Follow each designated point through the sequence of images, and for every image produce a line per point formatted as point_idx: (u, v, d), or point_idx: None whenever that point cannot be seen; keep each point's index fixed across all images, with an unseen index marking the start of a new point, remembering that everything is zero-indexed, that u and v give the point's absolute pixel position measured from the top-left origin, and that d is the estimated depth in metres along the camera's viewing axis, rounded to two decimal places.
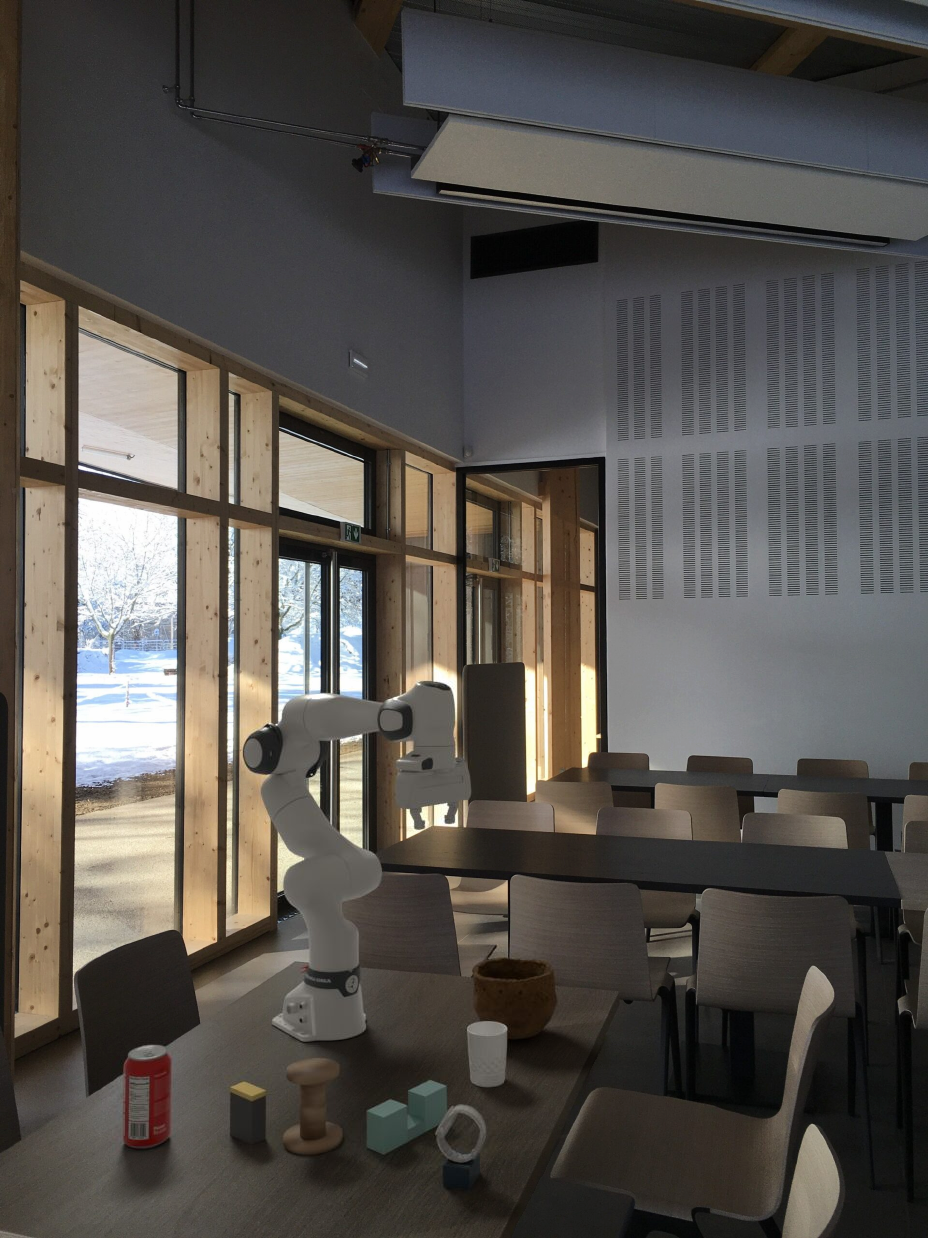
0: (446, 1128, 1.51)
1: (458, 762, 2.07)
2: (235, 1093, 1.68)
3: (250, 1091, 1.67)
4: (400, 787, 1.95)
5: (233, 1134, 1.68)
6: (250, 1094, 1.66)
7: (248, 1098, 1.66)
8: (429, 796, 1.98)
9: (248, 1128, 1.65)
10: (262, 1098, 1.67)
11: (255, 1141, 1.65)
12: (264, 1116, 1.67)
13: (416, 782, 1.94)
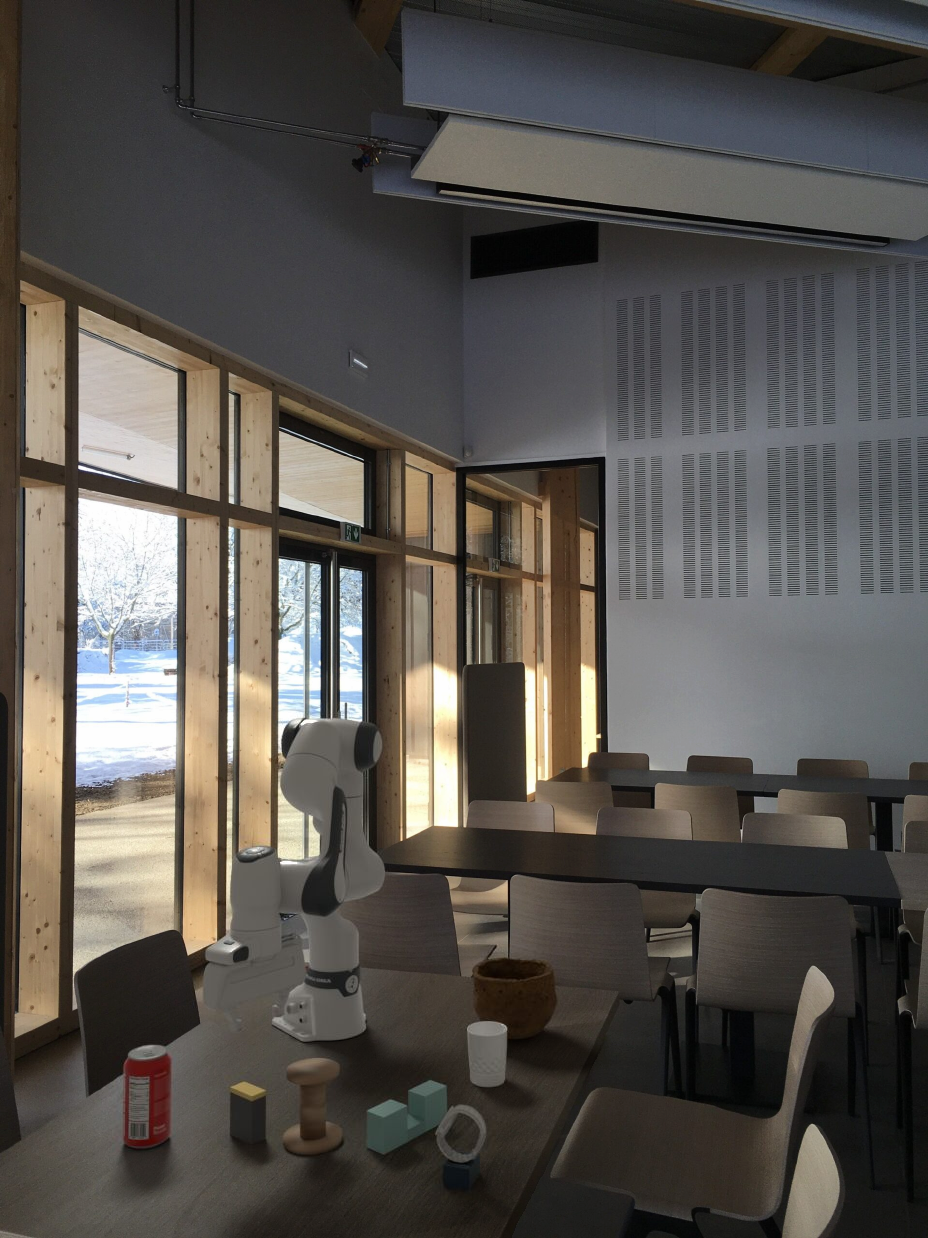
0: (446, 1128, 1.51)
1: (289, 940, 1.76)
2: (235, 1093, 1.68)
3: (250, 1091, 1.67)
4: (208, 984, 1.63)
5: (233, 1134, 1.68)
6: (250, 1094, 1.66)
7: (248, 1098, 1.66)
8: (247, 991, 1.66)
9: (248, 1129, 1.65)
10: (262, 1098, 1.67)
11: (255, 1141, 1.65)
12: (264, 1116, 1.67)
13: (227, 978, 1.63)
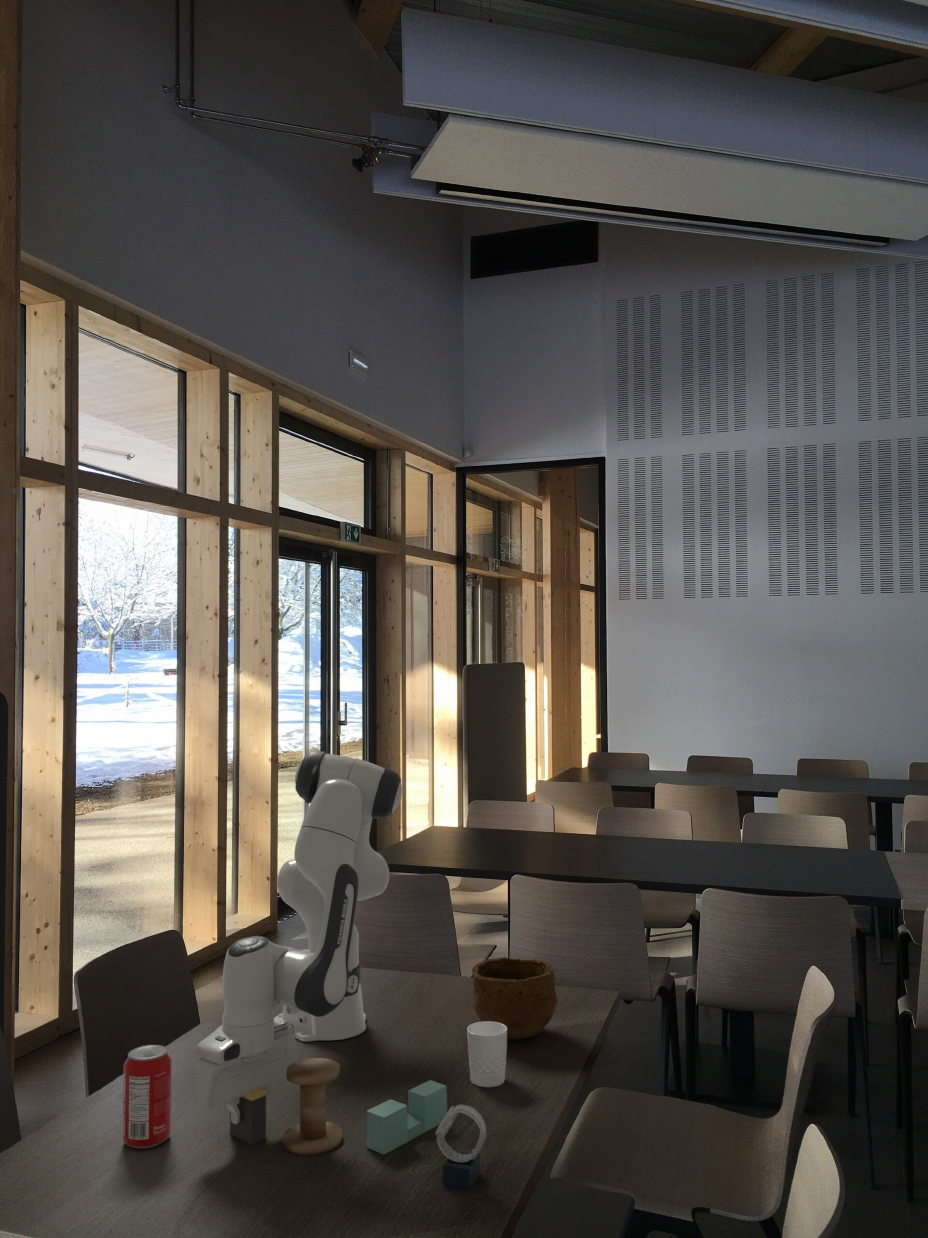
0: (446, 1128, 1.51)
1: (282, 1031, 1.74)
2: None
3: None
4: (198, 1082, 1.61)
5: (233, 1134, 1.68)
6: (250, 1094, 1.66)
7: (248, 1098, 1.66)
8: (237, 1087, 1.64)
9: (248, 1128, 1.65)
10: (262, 1098, 1.67)
11: (255, 1141, 1.65)
12: (264, 1116, 1.67)
13: (217, 1076, 1.61)
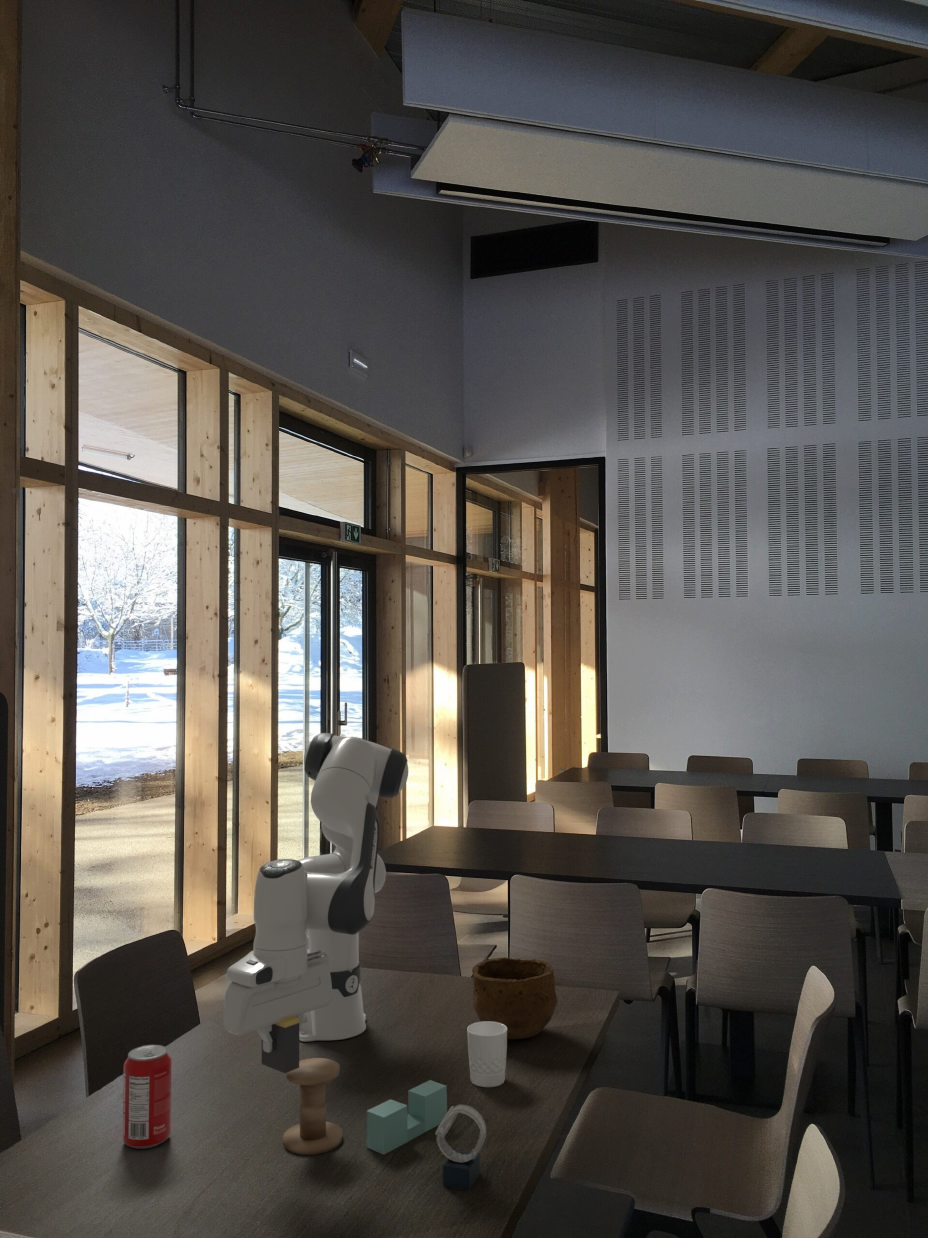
0: (446, 1128, 1.51)
1: (315, 959, 1.66)
2: None
3: None
4: (229, 1006, 1.54)
5: (265, 1063, 1.60)
6: (283, 1021, 1.58)
7: (281, 1025, 1.58)
8: (270, 1013, 1.57)
9: (281, 1057, 1.58)
10: (295, 1025, 1.59)
11: (288, 1069, 1.57)
12: (297, 1044, 1.59)
13: (249, 1000, 1.53)
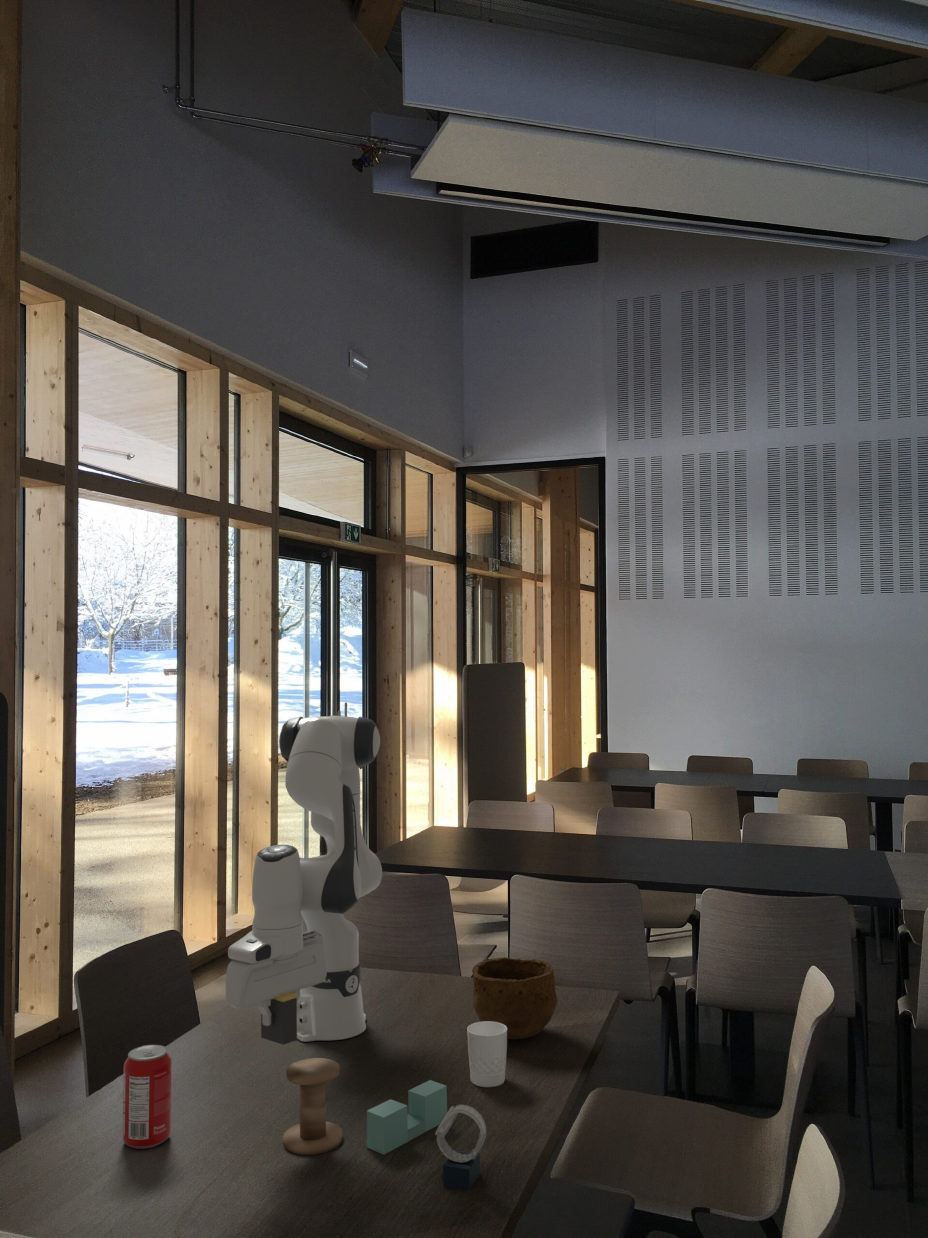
0: (446, 1128, 1.51)
1: (310, 938, 1.77)
2: None
3: None
4: (231, 982, 1.64)
5: (264, 1037, 1.70)
6: (281, 995, 1.69)
7: (279, 999, 1.68)
8: (269, 989, 1.67)
9: (279, 1029, 1.68)
10: (293, 1000, 1.69)
11: (287, 1041, 1.68)
12: (295, 1018, 1.70)
13: (249, 976, 1.64)
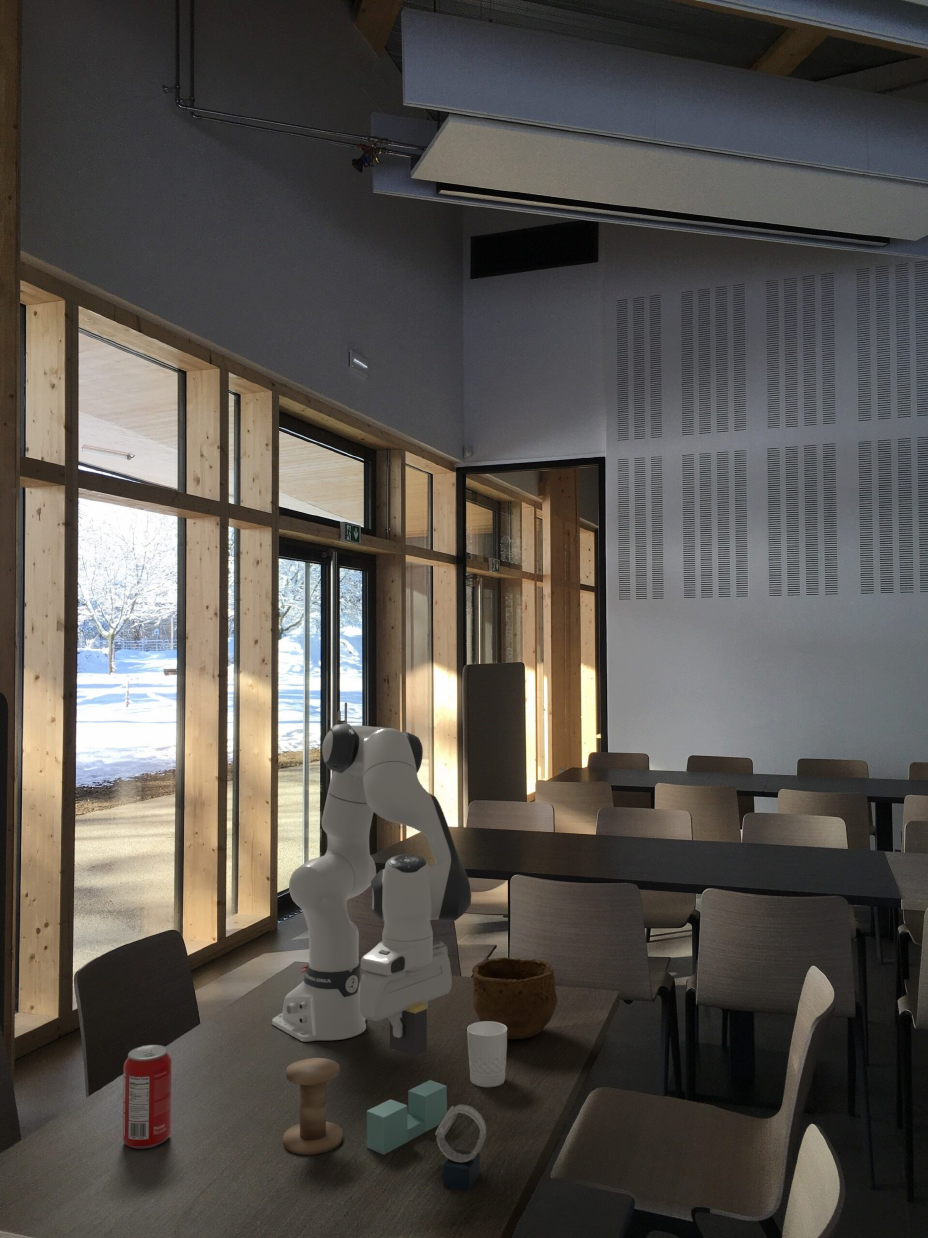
0: (446, 1128, 1.51)
1: (436, 949, 1.75)
2: None
3: None
4: (365, 993, 1.62)
5: (394, 1047, 1.69)
6: (412, 1007, 1.67)
7: (411, 1011, 1.67)
8: (401, 1000, 1.66)
9: (411, 1041, 1.67)
10: (423, 1011, 1.68)
11: (418, 1053, 1.66)
12: (425, 1029, 1.68)
13: (384, 988, 1.62)
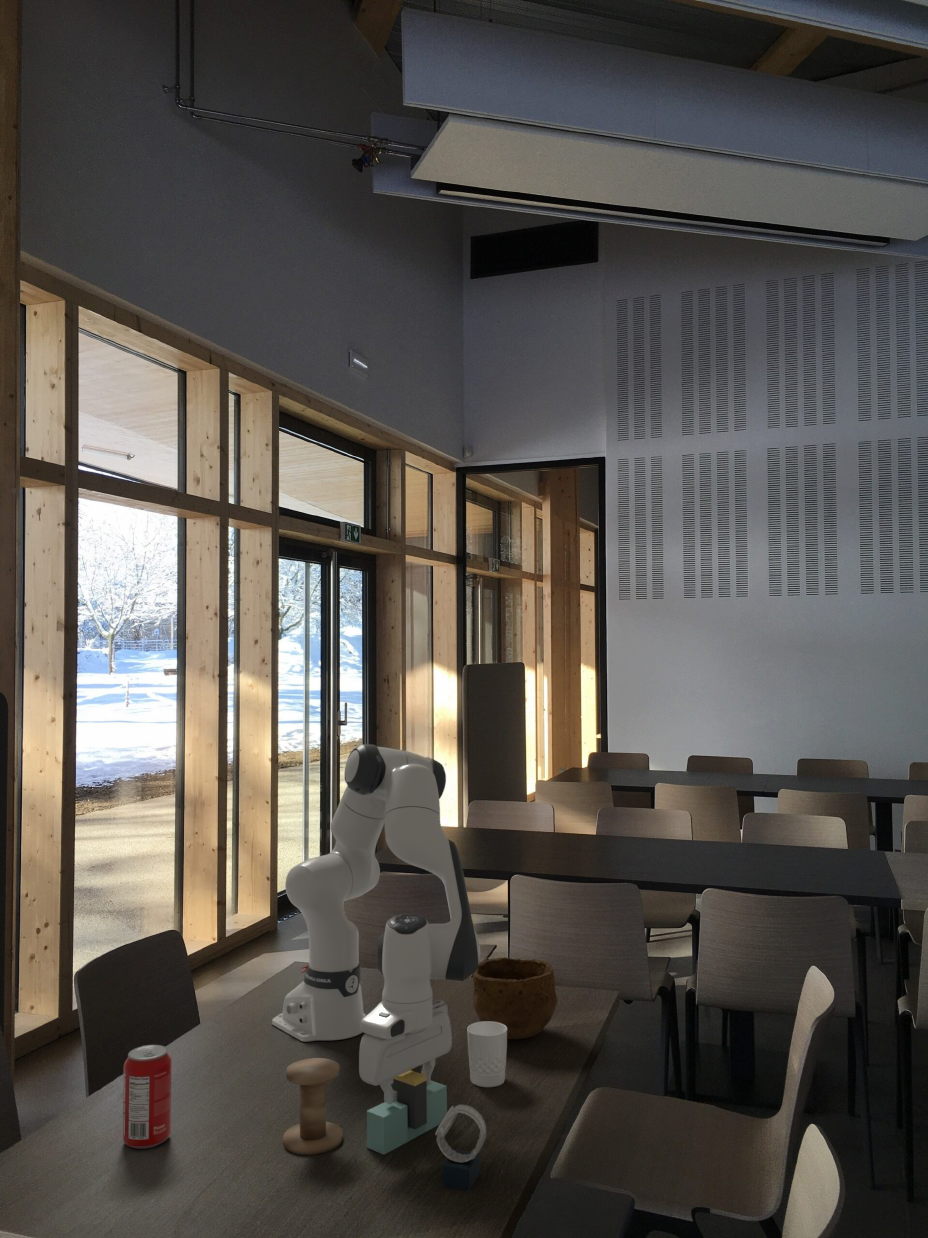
0: (446, 1128, 1.51)
1: (436, 1008, 1.75)
2: (395, 1078, 1.68)
3: (411, 1076, 1.68)
4: (365, 1057, 1.62)
5: None
6: (412, 1079, 1.66)
7: (410, 1083, 1.66)
8: (401, 1063, 1.65)
9: (411, 1113, 1.66)
10: (423, 1083, 1.67)
11: (418, 1126, 1.66)
12: (425, 1101, 1.67)
13: (384, 1052, 1.62)
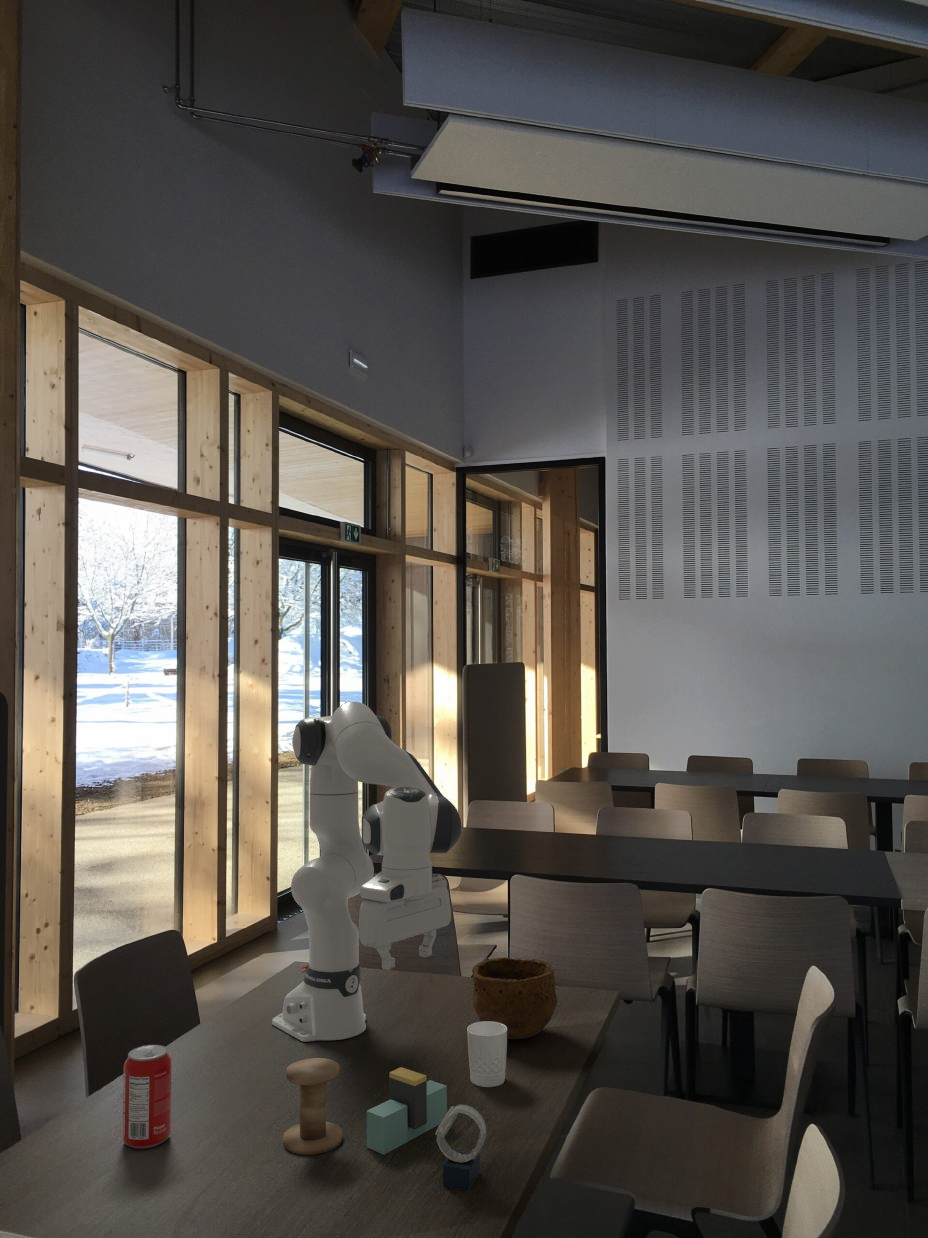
0: (446, 1128, 1.51)
1: (435, 882, 1.76)
2: (395, 1078, 1.68)
3: (411, 1076, 1.68)
4: (365, 920, 1.63)
5: None
6: (412, 1079, 1.66)
7: (410, 1083, 1.66)
8: (400, 929, 1.66)
9: (411, 1113, 1.66)
10: (423, 1083, 1.67)
11: (418, 1126, 1.66)
12: (425, 1101, 1.67)
13: (384, 915, 1.63)
